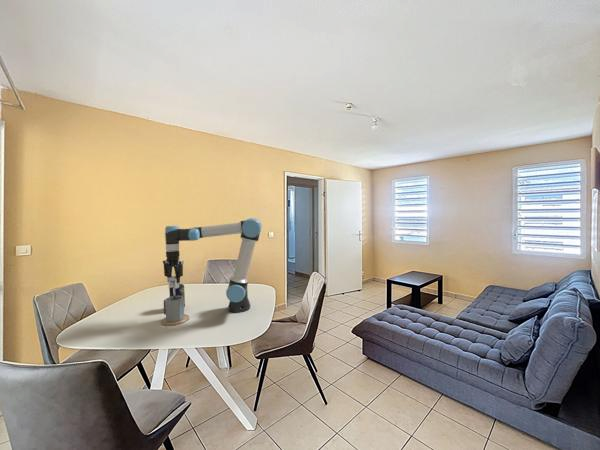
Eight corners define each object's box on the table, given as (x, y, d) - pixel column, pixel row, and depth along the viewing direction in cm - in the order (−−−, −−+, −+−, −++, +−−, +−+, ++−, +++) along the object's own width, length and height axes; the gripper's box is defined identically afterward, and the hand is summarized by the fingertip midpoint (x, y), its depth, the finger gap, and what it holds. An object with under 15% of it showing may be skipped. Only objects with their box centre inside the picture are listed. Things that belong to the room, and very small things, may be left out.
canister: (179, 312, 171) (178, 286, 170) (166, 311, 173) (165, 285, 172) (188, 306, 180) (187, 282, 180) (176, 306, 182) (175, 281, 181)
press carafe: (194, 316, 163) (193, 295, 163) (177, 326, 148) (176, 303, 147) (173, 314, 167) (172, 293, 166) (154, 324, 151) (153, 302, 151)
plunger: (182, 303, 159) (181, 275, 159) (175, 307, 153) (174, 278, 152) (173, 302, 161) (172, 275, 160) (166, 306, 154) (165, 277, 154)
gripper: (188, 249, 157) (189, 286, 158) (165, 249, 161) (166, 285, 162) (180, 251, 150) (181, 290, 151) (156, 251, 154) (157, 288, 155)
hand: (174, 287), depth 156 cm, fingers closed on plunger, 4 cm apart
